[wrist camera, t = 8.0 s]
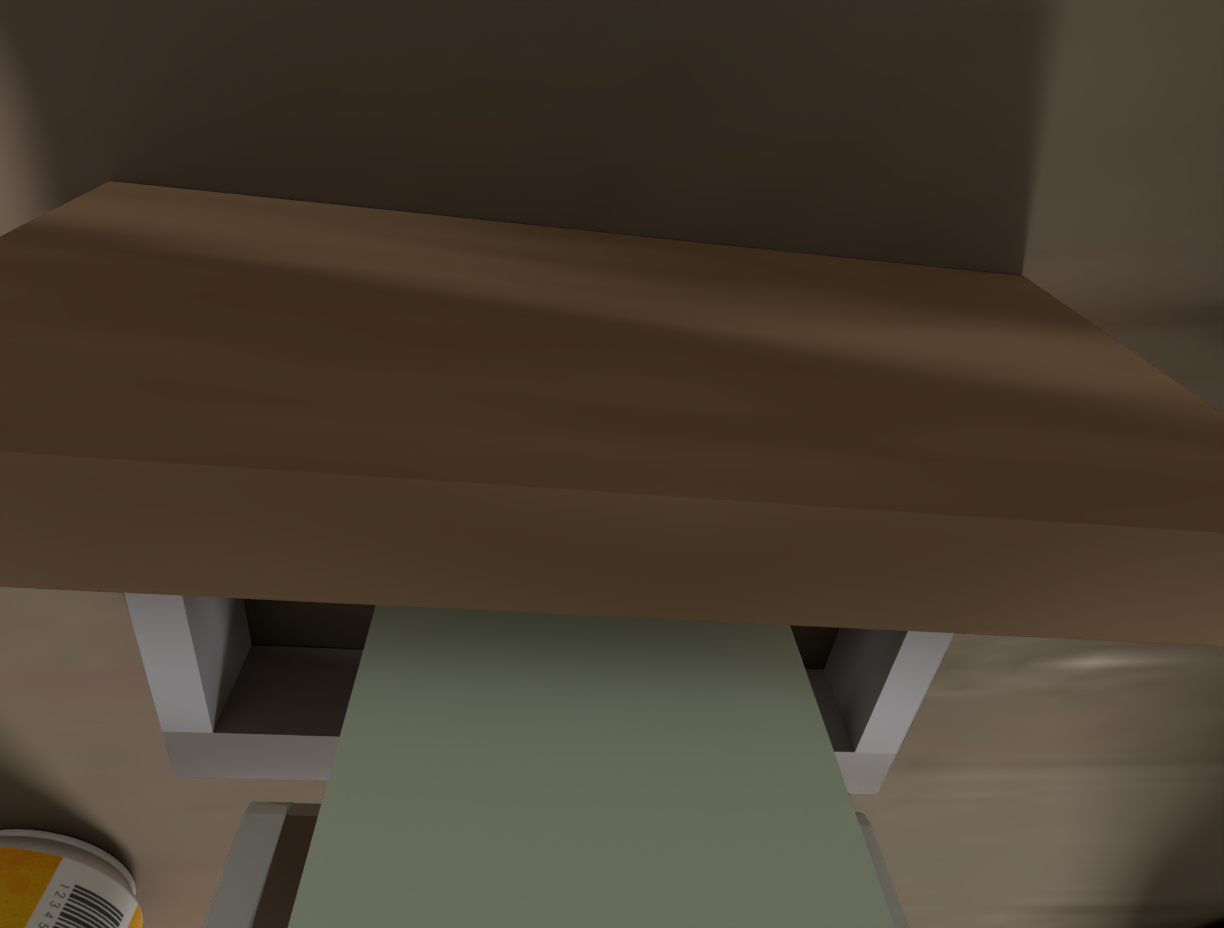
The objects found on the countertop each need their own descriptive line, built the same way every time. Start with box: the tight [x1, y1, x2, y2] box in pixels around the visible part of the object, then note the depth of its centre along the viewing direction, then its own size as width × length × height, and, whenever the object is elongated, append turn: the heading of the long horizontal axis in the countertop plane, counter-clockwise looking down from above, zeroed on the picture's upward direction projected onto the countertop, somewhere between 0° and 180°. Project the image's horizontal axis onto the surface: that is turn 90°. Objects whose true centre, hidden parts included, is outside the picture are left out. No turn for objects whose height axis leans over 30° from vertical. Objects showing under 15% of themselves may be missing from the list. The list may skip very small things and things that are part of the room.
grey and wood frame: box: [0, 181, 1224, 794], centre depth 14 cm, size 12×16×8 cm
